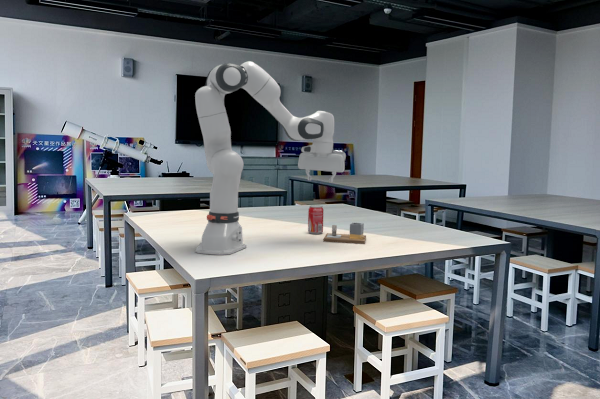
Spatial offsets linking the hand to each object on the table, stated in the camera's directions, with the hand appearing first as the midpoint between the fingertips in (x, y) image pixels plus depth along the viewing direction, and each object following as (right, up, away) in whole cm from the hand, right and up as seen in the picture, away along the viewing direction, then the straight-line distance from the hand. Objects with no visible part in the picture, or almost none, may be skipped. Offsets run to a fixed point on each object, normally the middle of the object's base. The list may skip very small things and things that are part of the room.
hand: (320, 181), depth 216 cm
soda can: (-1, -24, +21) cm, 32 cm away
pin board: (+11, -26, +7) cm, 29 cm away
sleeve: (+16, -25, +6) cm, 30 cm away
